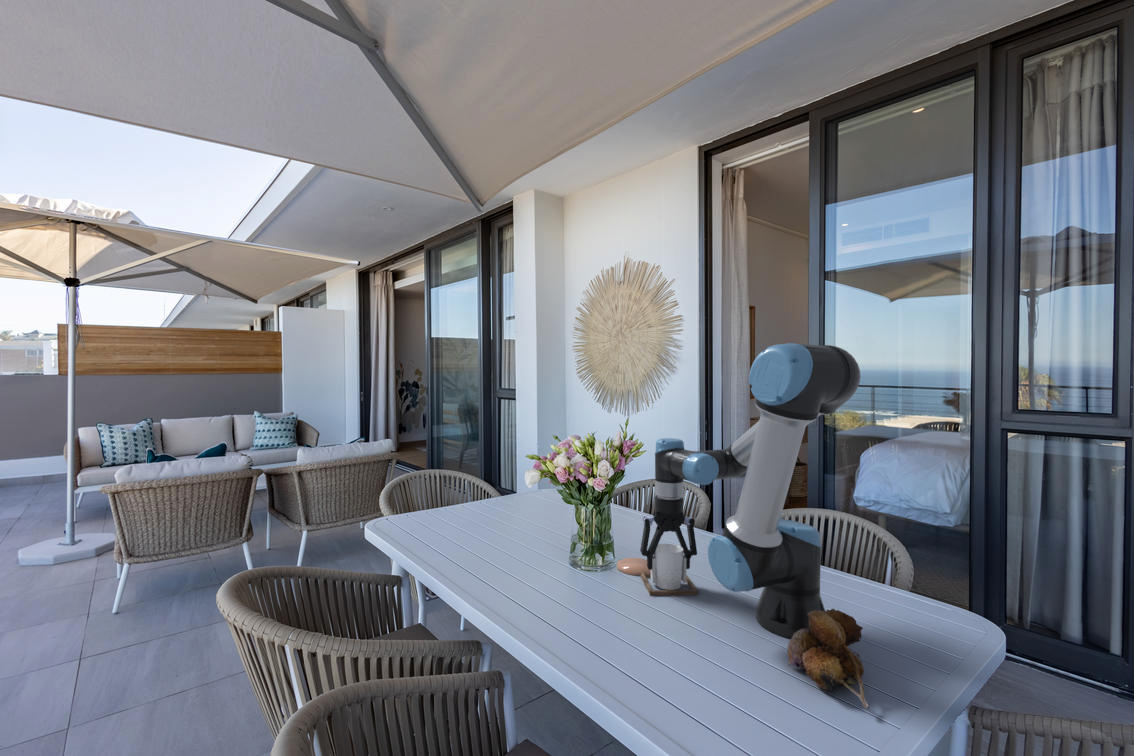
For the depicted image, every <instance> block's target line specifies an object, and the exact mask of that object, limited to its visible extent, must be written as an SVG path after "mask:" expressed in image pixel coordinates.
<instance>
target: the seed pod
mask: <svg viewBox="0 0 1134 756" xmlns="http://www.w3.org/2000/svg"><path fill="white" fill-rule="evenodd" d="M807 615H808V616H809V627H810V628H807V629H805V628H802V629H800V630H799V631H797V632H796V633H794V635H793V637H792V638H790V640H789V642H788V644H787V656H788V666H791V665H792V666H794V667H795V668H804V669H805V675H806V676H808V677H809V678H810V680H812V681H814V683H816V685H818V687H819V688H821V689H822V690H826V691H827V690H828V691H829V690H830V691H833V690H834V689H836V688H837V687H838V686H839V685H843V686H844V687H845V688H847V689H849V690H850V691H851V692H852V693H853V694H854V695H856V696H857V697H858V699H860V702H862V706H863V708H864V709H868V708H869V707H870V706H869V704H868V703H867V700H866V698H865V692H864V683H863V680H862V679H863V678H862V677H863V675H864V671H865V670H864V665H863V664H862V663H863V662H862V660H860V659H861V658H860V657H861V656H860V654H859V653H857V652H856V651H854V650H852V649H851V648H849V646H851V645H854V644H856V643H857V642H861V640H860V639H862V630H863V628H864V627H862V626H861V625H859V624H858V623H857V620H856V619H855V617H853V616H851V615H849V614H847V613H845V612H842V611H841V610H839V609H838V610H836V608H832V609H830V610H829V609H826V610H825V611H817V610H814V611H811V612H809V613H808V614H807ZM857 683H858V684H859V691H860V692H858V691H856V689H855V688H853V687H852V686H851V685H856V684H857Z"/></svg>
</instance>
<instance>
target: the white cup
mask: <svg viewBox="0 0 1134 756" xmlns="http://www.w3.org/2000/svg"><path fill="white" fill-rule="evenodd" d="M683 555H684V553H683V548H682V547H681V545H678V544H674V543H658V546H657V548H656V551H655V553H654V557H655V558H656V581H655V583H654V584H655V585H656V587H658V588H659V589H660V590H680V588H681V586H682V580H681V577H682V567H683Z"/></svg>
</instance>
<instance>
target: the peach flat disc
mask: <svg viewBox="0 0 1134 756" xmlns="http://www.w3.org/2000/svg"><path fill="white" fill-rule="evenodd" d="M616 569H617V570H618V571H619V572H620V573H623V574H626V575H631V576H641V573H651V570H649V569H648V567H647V559H646V558H639V557H626V558H622V559H620V560H618V561H617V562H616Z"/></svg>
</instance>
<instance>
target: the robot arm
mask: <svg viewBox="0 0 1134 756" xmlns="http://www.w3.org/2000/svg"><path fill="white" fill-rule="evenodd" d="M860 381H861V370H860V367H859V363H858V362H857V360H856V359H855V357H854V356H853V355H852V354H850V352H848V351H847V350H845V349H844V348H841V347H839V346H836V345H827V344H824V345H823V344H821V345H817V344H805V343H794V342H790V343H780V344H773V345H770V346H768V347H767V348H765V349H763V350H762V351H761V352H760V353H759V354H757V356H756V358H755V359H754V361H753V362H752V364H751V367H750V370H749V376H748V383H749V385H750V386H751V388H750V390H751V393H752V395H753V397H754V398H755V399H756V400H755V404H754V405H755V407H756V409H758V411H759V413H760V416H759V420H758V421H757V422H756V423H754V425H752V426H751V427H750V428H749V429H747V430H746V431H745V432H744V433H743V434H742V435H741V436H740V437H739V438H737V439H736V440H735V441H733V442H732V444H730V445H729V446H727V447H726V448H724V449H712V450H711V449H710V450H697V451H696V450H688V449H685V443H684V441H683V440H682V439H680V438H671V437H670V438H669V437H668V438H667V437H665V438H659V439H657V440H656V442H655V452H654V471H655V472H654V473H655V474H654V476H655V478H654V480H655V481H654V482H655V483H654V495H656V496H655V497H654V513H653V515H652V516H648V517H647V516H643V517H642V520H643V531H642V537H641V544H640V551H639V552H640V553H641V555H642V557H646V560H647V567H648V569H649V570H651V577H650V580H651V582H652V584H655V581H656V558H655V557H654V553H655V551H656V548H657V546H658V544H660V540H661V538H662V537H663V535H664V533H668V532H672V533H675V535H676V537H677V539H678V542H679V544H680V545H679V546H681V547H682V548H683V567H682V577H681V582H682V583H684V584H687V582H686V575H687V570H689V569H690V568H691V559H692V556H697V555H698V550H697V543H696V536H695V529H694V527H695V523H696V520H695V519H694V518H693V517H692V516H690V515H689V516H685V514H684V498H683V496H684V480H685V481H688V482H690V483H693V484H696V485H704V486H708V485H710V484H712V483H713V482H714V481H716V480H717V481H718V480H726V479H742V478H743V484H742V488H741V493H740V495H739V496H740V497H739V500H738V504H737V508H736V512H735V514H734V515H732V516H729V517H728V518H727V519H726V520H725V525H724V529H723V533H722V535H720V534H719V535H716V536H715V537H713V538H711V540H710V541H709V543H708V546H707V558H708V564H709V566H710V568H711V571H712V573H713V575H714V576H715V578H716V581H717V582H718V583H720V585H722V586H723V587H724V588H725V589H727V590H729V592H734V593H739V592H740V593H741V592H750V591H752V590H753V591H754V590H758V589H762V592H761V594H760V597H759V600H758V602H757V605H756V608H755V611H756V613H755V616H756V621H757V623H758V624H759V625H760V626H761V627H763V628H765V629H766V630H768V631H769V632H771V633H773V634H776V635H779V636H781V637H786V638H789V639H791V638H792V637H793V635H794V633H796V632H797V631H799V630H800V629H802V628H805V629H807V628H810V627H809V616H808V615H807V614H808V613H809V612H811V611H814V610H817V611H826V609H825V606H824V603H823V600H822V597H821V563H822V562H821V561H822V560H821V557H822V555H821V554H822V551H821V550H822V544H821V534H820V532H819V530H818V529H817V528H816V527H814V526H812V525H809V524H807V523H803V522H801V521H795V520H791V519H786V518H781V517H782V513H783V511H784V510H783V509H784V506H785V502H786V499H787V496H788V492H789V488H790V484H791V480H792V477H793V474H794V469H795V468H796V463H797V460H798V455H799V452H800V450H801V449H800V448H801V445H802V441H803V437H804V434H805V431H806V427H807V426H808V425H810V424H811V423H813V422H815V421H817V419H818V418H819V417H820V416H822V415H824V416H828V415H831V414H832V413H834V412H835V411H836V410H838V409H839V408H840V407H842V406H843V405H844V404H845V403H846V402H848V401H849V400H850V399H852V397H853V396H854V394H855V393H856V392H857V390H858V387H859V385H860ZM653 522H655V524H656V527H655V532H654V535H653V537H652V540H651V542H650V544H649V541H650V533H651V527H652V525H653ZM683 523H685V524H686V532H687V538H688V544H689V545H687V543H686V540H685V538H684V535H683V532H682V529H681V526H682V525H683ZM688 546H689V547H688Z"/></svg>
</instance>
